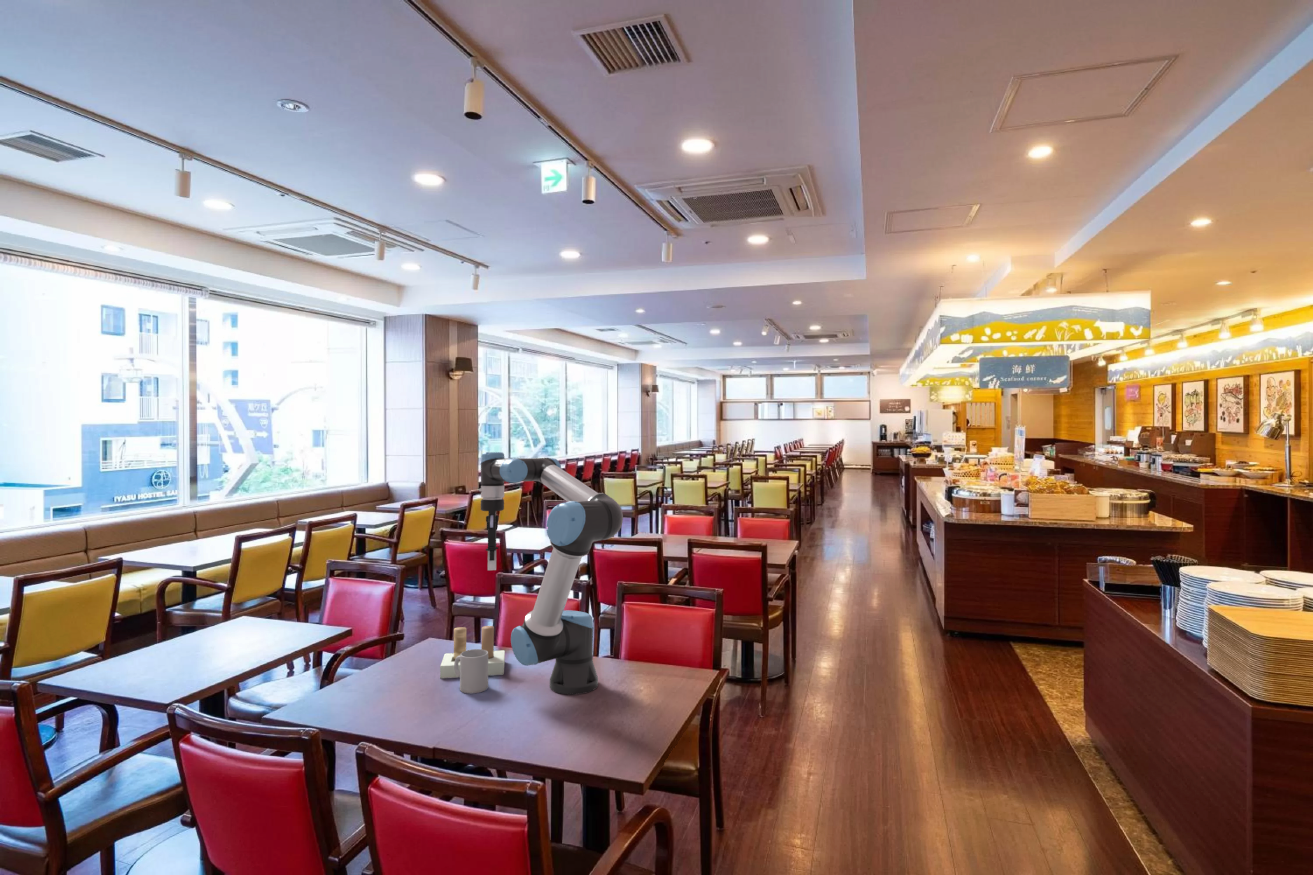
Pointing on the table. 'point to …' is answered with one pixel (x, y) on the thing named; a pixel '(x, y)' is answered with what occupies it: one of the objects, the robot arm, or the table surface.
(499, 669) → the cream base with post
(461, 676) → the mug
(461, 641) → the oak leg
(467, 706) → the table surface
